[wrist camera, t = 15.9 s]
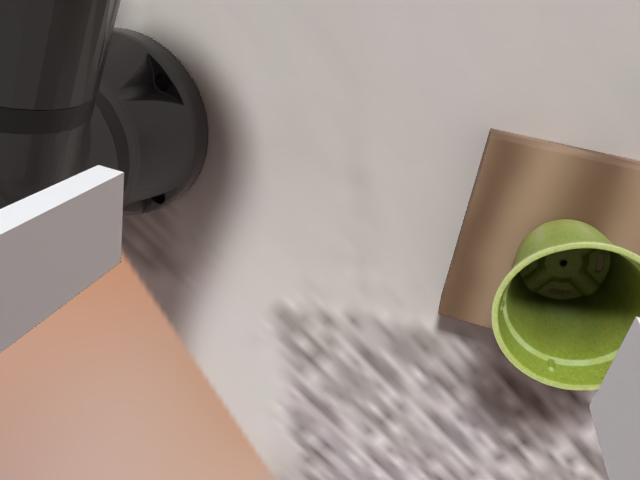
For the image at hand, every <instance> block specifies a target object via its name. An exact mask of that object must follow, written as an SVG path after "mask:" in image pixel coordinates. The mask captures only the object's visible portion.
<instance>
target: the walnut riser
mask: <svg viewBox="0 0 640 480" xmlns="http://www.w3.org/2000/svg"><path fill="white" fill-rule="evenodd" d="M561 219H570V220H577V221H581V222H584V223H587V224H589V225H591V226H592V227H594V228H596V229H597V230H598V231H599V232H601V233H602V234H603V235H604V236H605V237H606V238H607V239H608V240H609V241H610V242H611V243H612V244H613V245H616V246H620V247H622V248H625V249H627V250H630V251H632V252H634V253H636V254H637V255H639V256H640V161H637V160H632V159H628V158H623V157H618V156H614V155H609V154H605V153H600V152H596V151H591V150H586V149H582V148H577V147H573V146H568V145H564V144H559V143H554V142H550V141H545V140H541V139H536V138H532V137H527V136H522V135H518V134H513V133H509V132H504V131H500V130H495V129H490V132H489V135H488V139H487V142H486V145H485V149H484V152H483V156H482V159H481V162H480V166H479V169H478V173H477V176H476V179H475V183H474V186H473V190H472V193H471V196H470V200H469V203H468V207H467V210H466V213H465V217H464V220H463V224H462V227H461V230H460V234H459V237H458V241H457V244H456V247H455V251H454V254H453V258H452V261H451V264H450V268H449V271H448V275H447V278H446V281H445V285H444V288H443V292H442V295H441V300H440V306H439V311H438V314H441V315H444V316H448V317H451V318H455V319H458V320H462V321H465V322H469V323H472V324H476V325H479V326H483V327H486V328H490V329H492V322H491V311H492V304H493V299H494V296H495V293H496V291H497V288H498V287H499V285H500V283H501V281H502V280H503V278H504V277H505V276H506V274H507V273H508V272H509V271H510V270H511V269H512V268H513V267H514V263H515V259H516V255H517V252H518V248H519V246H520V244H521V242H522V241H523V239H524V238H525V237H526V236H527V235H528V234H529V233H531V232H532V231H533V230H534V229H536V228H537V227H539V226H540V225H542V224H544V223H546V222H550V221H554V220H561ZM602 261H603V255H602V254H601V253H600V254H598V263H597V268H596V271H597V272H599V271H601V269H602V267H603V263H602ZM559 264H560V265H561V266H565V265H566V264H567V261H566V260H564V259H563V260H561V261H560V262H559ZM526 268H529V265H527V266H526ZM549 291H550V292H552V293H556V294H563V293H567V292H569V291H570V290H560V289H554V288H550V289H549Z"/></svg>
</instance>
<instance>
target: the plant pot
mask: <svg viewBox="0 0 640 480" xmlns="http://www.w3.org/2000/svg"><path fill="white" fill-rule="evenodd" d="M600 253H601V254H602V255H603V261H602V263H603V267H602V269H601V271H599V272H597V271H596V268H597V263H598V254H600ZM563 259H564V260H566V261H567V264H566V265H565V266H561V265H560V264H559V262H560V261H561V260H563ZM527 265H529V268H526V266H527ZM550 288H554V289H560V290H570V291H569V292H567V293H563V294H556V293H552V292H550V291H549V289H550ZM636 317H640V256H639V255H637V254H636V253H634V252H632V251H630V250H627V249H625V248H622V247H620V246H616V245H613V244H612V243H611V242H610V241H609V240H608V239H607V238H606V237H605V236H604V235H603V234H602V233H601V232H599V231H598V230H597V229H596V228H594V227H592V226H591V225H589V224H587V223H584V222H581V221H577V220H570V219H561V220H554V221H550V222H546V223H544V224H542V225H540V226H539V227H537V228H536V229H534V230H533V231H532V232H531V233H529V234H528V235H527V236H526V237H525V238H524V239H523V241H522V242H521V244H520V246H519V248H518V252H517V255H516V259H515V263H514V267H513V268H512V269H511V270H510V271H509V272H508V273H507V274H506V276H505V277H504V278H503V280H502V281H501V283H500V285H499V287H498V288H497V291H496V293H495V296H494V299H493V304H492V311H491V322H492V329H493V333H494V336H495V339H496V341H497V343H498V345H499V347H500V349H501V351H502V352H503V354H504V355H505V356H506V357H507V359H508V360H509V361H510V362H511V363H512V364H513V365H514V366H515V367H516V368H517V369H519V370H520V371H521V372H523V373H524V374H525V375H527V376H529V377H530V378H532V379H534V380H536V381H538V382H541V383H543V384H546V385H549V386H553V387H556V388H560V389H565V390H580V391H587V390H598V389H599V387H600V385H601V383H602V381H603V379H604V377H605V375H606V373H607V371H608V369H609V367H610V366H611V364H612V362H613V360H614V358H615V356H616V354H617V352H618V350H619V348H620V346H621V344H622V343H623V341H624V339H625V337H626V335H627V333H628V331H629V329H630V327H631V325H632V323H633V321H634V319H635V318H636Z"/></svg>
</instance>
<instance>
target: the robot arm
mask: <svg viewBox="0 0 640 480" xmlns="http://www.w3.org/2000/svg"><path fill="white" fill-rule="evenodd" d="M119 4H120V0H0V353H1V352H2V351H3V350H5V349H6V348H7V347H8V346H10V345H11V344H12V343H14V342H15V341H17V340H18V339H19V338H21V337H22V336H23V335H25V334H26V333H27V332H28V331H30V330H31V329H33V328H34V327H35V326H36V325H38V324H39V323H41V322H42V321H43V320H44V319H46V318H47V317H49V316H50V315H51V314H53V313H54V312H55V311H56V310H58V309H59V308H61V307H62V306H63V305H64V304H66V303H67V302H69V301H70V300H71V299H73V298H74V297H75V296H76V295H78V294H79V293H80V292H82V291H83V290H84V289H86V288H87V287H88V286H90V285H91V284H92V283H94V282H95V281H96V280H98V279H99V278H100V277H102V276H103V275H104V274H106V273H107V272H108V271H110V270H111V269H112V268H114V267H115V266H116V265H118V264H119V263H120V262H121V247H122V217H123V215H136V214H144V213H148V212H151V211H154V210H157V209H159V208H161V207H163V206H165V205H167V204H168V203H170V202H172V201H173V200H175V199H177V198H178V197H180V196H181V195H182V194H183V193H185V192H186V191H187V190H188V189H189V188H190V187H191V185H192V184H193V183H194V181H195V180H196V178H197V177H198V175H199V173H200V171H201V169H202V166H203V163H204V160H205V156H206V151H207V144H208V127H207V119H206V114H205V109H204V106H203V103H202V100H201V97H200V94H199V92H198V90H197V88H196V86H195V84H194V82H193V80H192V78H191V77H190V75H189V74H188V72H187V71H186V69H185V68H184V67H183V65H182V64H181V63H180V62H179V61H178V59H177V58H176V57H175V56H174V55H173V54H172V53H171V52H170V51H168V50H167V49H166V48H165V47H164V46H162V45H161V44H159V43H158V42H156V41H155V40H153V39H152V38H150V37H148V36H146V35H143V34H141V33H139V32H136V31H132V30H128V29H123V28H114V24H115V20H116V16H117V12H118V8H119ZM589 407H590V411H591V415H592V419H593V422H594V426H595V430H596V434H597V437H598V441H599V445H600V448H601V452H602V456H603V460H604V463H605V467H606V471H607V474H608V478H609V480H640V317H636V318H635V319H634V321H633V323H632V325H631V327H630V329H629V331H628V333H627V335H626V337H625V339H624V341H623V343H622V344H621V346H620V348H619V350H618V352H617V354H616V356H615V358H614V360H613V362H612V364H611V366H610V367H609V369H608V371H607V373H606V375H605V377H604V379H603V381H602V383H601V385H600V387H599V389H598V391H597V392H596V394H595V396H594V398H593V400H592V402H591V404H590V406H589Z"/></svg>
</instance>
